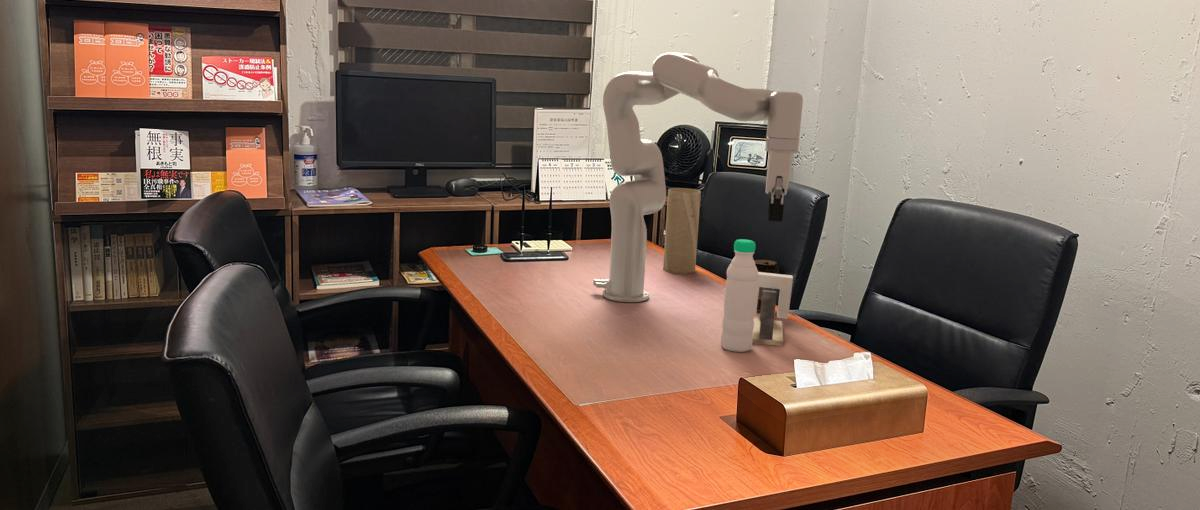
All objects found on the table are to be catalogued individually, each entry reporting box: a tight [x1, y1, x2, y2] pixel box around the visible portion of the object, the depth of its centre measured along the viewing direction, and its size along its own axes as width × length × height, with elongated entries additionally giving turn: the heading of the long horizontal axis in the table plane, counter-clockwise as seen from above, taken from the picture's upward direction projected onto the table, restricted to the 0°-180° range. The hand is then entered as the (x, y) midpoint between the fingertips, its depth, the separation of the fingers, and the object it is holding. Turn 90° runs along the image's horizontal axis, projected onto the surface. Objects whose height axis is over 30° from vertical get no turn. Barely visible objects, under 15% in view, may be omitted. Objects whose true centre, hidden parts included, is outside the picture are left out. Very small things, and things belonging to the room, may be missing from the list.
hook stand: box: [752, 287, 784, 347], centre depth 210 cm, size 8×17×12 cm, turn 170°
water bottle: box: [720, 238, 758, 353], centre depth 197 cm, size 7×7×25 cm
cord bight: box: [754, 272, 794, 320], centre depth 209 cm, size 10×3×10 cm, turn 80°
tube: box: [662, 187, 702, 275], centre depth 271 cm, size 10×10×25 cm
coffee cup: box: [754, 259, 780, 312], centre depth 231 cm, size 9×8×13 cm
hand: (775, 217), depth 208 cm, fingers open, 9 cm apart
